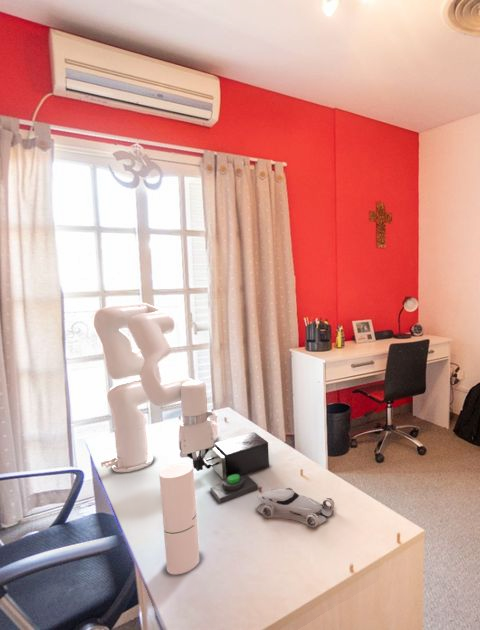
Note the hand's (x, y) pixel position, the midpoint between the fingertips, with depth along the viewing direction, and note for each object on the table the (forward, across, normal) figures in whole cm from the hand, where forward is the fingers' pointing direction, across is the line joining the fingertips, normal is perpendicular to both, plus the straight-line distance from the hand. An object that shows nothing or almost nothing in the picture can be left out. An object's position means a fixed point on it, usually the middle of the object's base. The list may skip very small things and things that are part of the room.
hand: (198, 468), depth 143 cm
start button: (+2, -7, +14) cm, 15 cm away
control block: (+5, -7, +14) cm, 16 cm away
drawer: (+4, -10, 0) cm, 11 cm away
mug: (+5, -12, -32) cm, 35 cm away
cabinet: (+5, -15, 0) cm, 15 cm away
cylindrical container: (+5, +15, +40) cm, 43 cm away
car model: (+5, -16, +38) cm, 41 cm away
